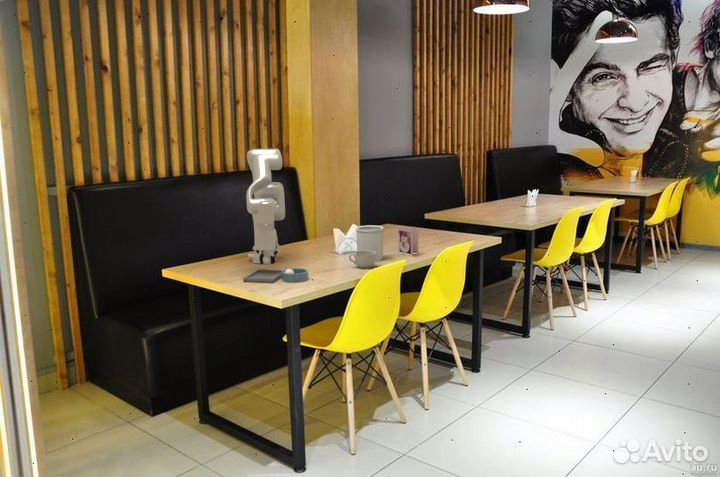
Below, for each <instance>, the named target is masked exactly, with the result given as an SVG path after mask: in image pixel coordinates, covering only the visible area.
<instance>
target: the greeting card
mask: <svg viewBox="0 0 720 477" xmlns="http://www.w3.org/2000/svg"><path fill="white" fill-rule="evenodd" d="M397 228H398V229H397V233H398V240H397V241H398V243H397V244H398V249H397V250H398V252H401V253H406V254H410V255H412V256H413V254H412V253H418V254H419V227H397Z"/></svg>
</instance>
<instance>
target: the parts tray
mask: <svg viewBox="0 0 720 477" xmlns="http://www.w3.org/2000/svg"><path fill="white" fill-rule="evenodd" d="M283 270H284V269H283ZM283 270H281V269H261V268H260V269H256V270H254V271H252V272H250V273H249V274H247V275H245V276H244V277H243V280H242V281H243V283H255V284H256V283H257V284H258V283H260V284H261V283H262V284H274V283H276V282H278V281H279V280H280V279H282V271H283Z"/></svg>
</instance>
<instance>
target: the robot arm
mask: <svg viewBox="0 0 720 477" xmlns="http://www.w3.org/2000/svg"><path fill="white" fill-rule="evenodd" d="M246 159H247V163H248V166H249V169H250V171H251V174H252V183H251V184H250V185H249V187H248V188H247V191H246V195H245V198H246V209H247V212H248V214H251V215H252V222H253V230H254V231H253V233H254V234H253V235H254V245H253V247H252V250H253V251H254V253H248V254H247V255H248V258H252V263H253V264H257V265H258V264H260V265H263V264H264V263H263V257H264V256H265V255H270V256H271V264H270V265H274V264H275V263H276V262H277V258H276V255H277V254H278V253H280V252H281V251H282V250H283V249H282V246H280V244H279V243H278V242H279V240H278V235H277V234H278V233H277V230H276V228H275V221H282V220H284V219H285V218H286V206H285V205H286V204H285V202H286V201H285V190H284V186H283V184H282V183H281V182H278V181H277V182H276V181H273V182H272V171H279V170H281V169H282V167H283V157H282V153H281V151H280V150H279V149H278V148H253V149H249V150H248V151H247V153H246ZM253 197H254V198H253ZM264 265H265V264H264Z"/></svg>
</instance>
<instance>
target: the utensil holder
mask: <svg viewBox="0 0 720 477" xmlns="http://www.w3.org/2000/svg"><path fill="white" fill-rule="evenodd" d="M355 231H356V251H359V250H371V251H375V252H376V260H375V262H379V261H378V260H380V261H382V260H383V258H384V231H385V230H384V226H381V225H372V224H371V225H370V224H369V225H368V224H367V225H360V226H357V227H355ZM381 259H382V260H381Z"/></svg>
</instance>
